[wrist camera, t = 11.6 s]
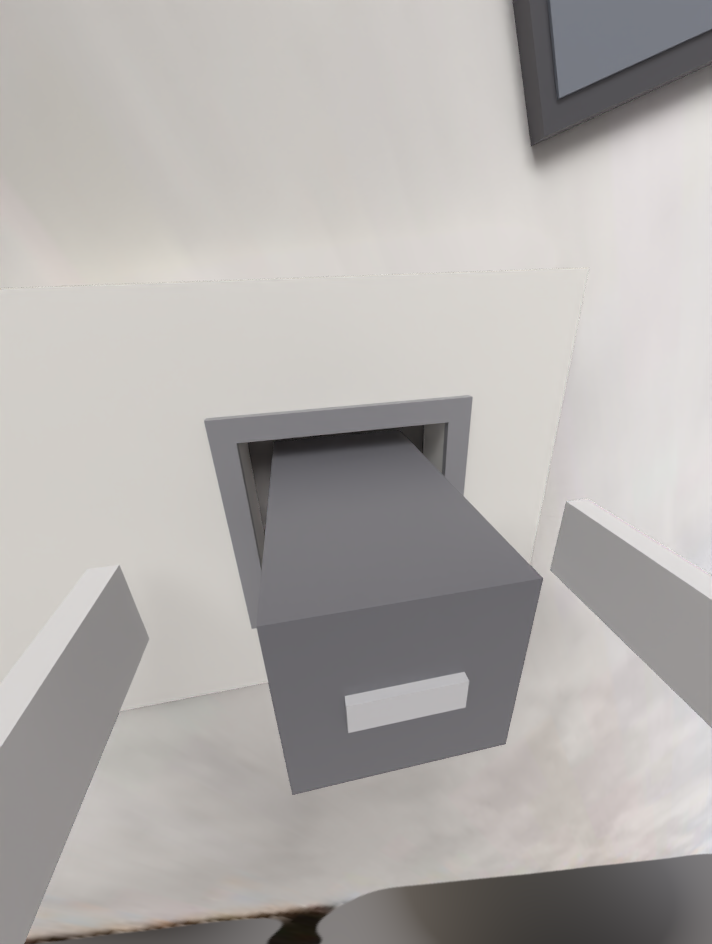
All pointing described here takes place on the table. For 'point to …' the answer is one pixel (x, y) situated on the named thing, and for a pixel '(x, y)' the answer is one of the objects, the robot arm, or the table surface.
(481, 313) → the outlet plate
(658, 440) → the table surface
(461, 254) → the table surface
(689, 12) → the phone
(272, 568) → the grey rectangular block
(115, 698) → the robot arm
